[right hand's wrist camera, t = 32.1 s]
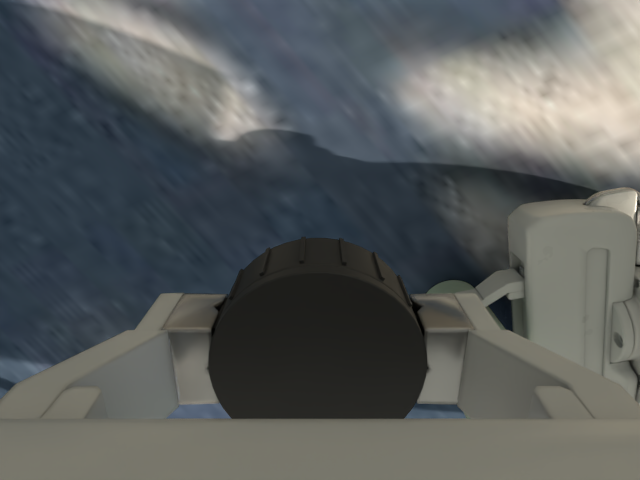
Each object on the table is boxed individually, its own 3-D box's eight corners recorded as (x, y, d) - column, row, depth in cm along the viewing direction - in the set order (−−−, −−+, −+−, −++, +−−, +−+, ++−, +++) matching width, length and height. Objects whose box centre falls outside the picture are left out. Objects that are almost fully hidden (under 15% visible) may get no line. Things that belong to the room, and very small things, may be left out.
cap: (432, 371, 10) (452, 426, 9) (264, 416, 11) (255, 476, 9) (384, 209, 9) (398, 239, 7) (192, 269, 9) (166, 311, 8)
